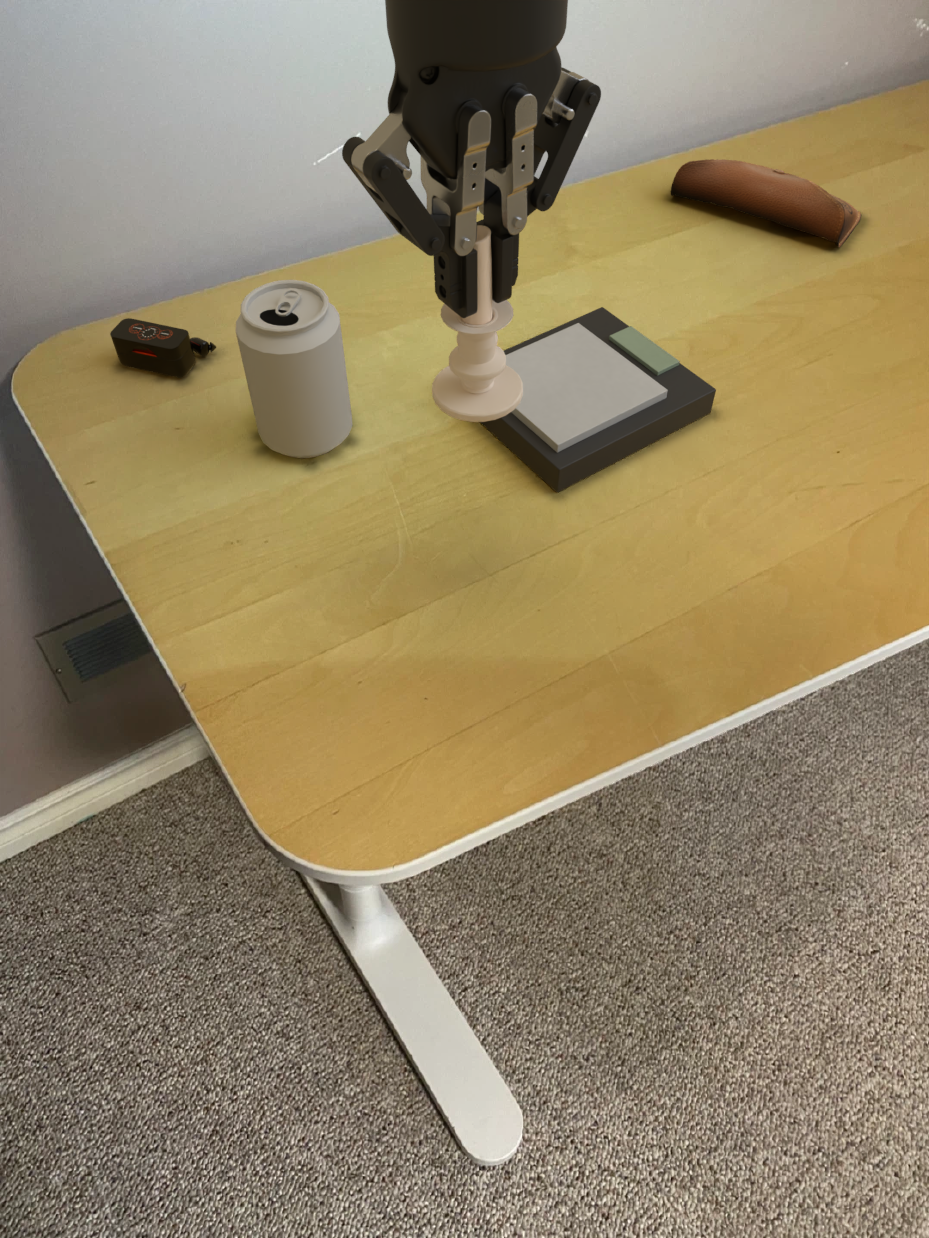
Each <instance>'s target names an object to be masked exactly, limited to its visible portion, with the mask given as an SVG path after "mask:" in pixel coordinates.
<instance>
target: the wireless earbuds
mask: <svg viewBox="0 0 929 1238" xmlns="http://www.w3.org/2000/svg"><path fill="white" fill-rule="evenodd" d="M109 335H110V338H111V341H112V344H113V347H114V350H115V352H116V355H117V358H118V361H119V363H120V364H121V365H122V366H124V367H127V368H132V369H136V370H140V371H145V372H149V373H154V374H159V375H164V376H167V377H173V378H177V379H183V378H185V376H186V375H187V374H188V373H189V372H190V370H191V369H192V368H193V367H194V366H195V364H196V361H197V359H196V355H195V354H197V355H199V356H200V357H202V358H205V357H207V356H208V355H209V353H213V352H214V351H215V350H216V349H217V345H215V344H214V342H212V341H210V342H208V341H207V340H205V339H202V338H200V337H195V336H194V337H191V335H190V334H189V331H188V330H187V329H185V328H184V329H183V328H179V327H174V326H169V325H165V324H160V323H157V322H150V321H146V320H141V319H136V318H132V317H131V318H130V317H128V318H127V317H126V318H123V319H122V320H120V321H119V322H118V323H117V325H116V326H115V327H114V328H112V330H111V331H110V332H109Z"/></svg>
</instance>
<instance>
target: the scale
mask: <svg viewBox="0 0 929 1238" xmlns="http://www.w3.org/2000/svg"><path fill="white" fill-rule="evenodd" d="M503 351H504V353H505V355H506V365H507V366H509V367H510V368H512V369H513V370H514V371H515V372H516V373H517V374H518V375H519V376H520V378H521V380H522V382H523V396H522V399H521V402H520V403H519V405H518V406H517V407H516V408H515V409H514V410H513V411H512V412H510V413H509V414H507V415H506V416H503V417H501V418H498V419H496V420H491V421H486V422H479V423H480V424H481V425H482V426H483V427H484V428H485V429H487V430H488V431H489V432H490V434H492V435H493V436H494V437H495V438H497V440H499V442H500V443H502V444H503V445H504V446H505V447H507V449H508V450H510V451H511V452H512V453H513V454H514V455H515V456H516V457H517V458H518V459H519V460H520V461H521V462H523V463H524V464H525V465H526V466H527V468H529V469H530V470H532V471H533V473H535V474H536V475H537V476H538V477H539V478H540V479H541V480H542V481H544V483H546V484H547V485H548V486H549V487H550V488H551V489H552V490H553V491H554V492H555V493H559V492H561V491H563V490H566V489H567V488H570V487H571V486H573V485H575V484H577V483H578V482H581V481H582V480H584V479H586V478H589V477H590V476H592V475H594V474H596V473H598V472H600V471H602V470H604V469H606V468H607V467H609V466H611V465H613V464H616V463H617V462H619V461H621V460H623V459H624V458H626V457H628V456H631V455H632V454H634V453H636V452H638V451H640V450H643V449H644V448H645V447H648V446H649V445H651V444H653V443H655V442H657V441H659V440H661V439H663V438H665V437H667V436H669V435H670V434H673V433H674V432H677V431H678V430H681V429H683V428H684V427H686V426H688V425H689V424H692V423H693V422H696V421H697V420H700V419H701V418H703V417H705V416H707V415H709V414H711V412H712V409H713V404H714V400H715V397H716V392H717V388H715V387H713V386H712V385H711V384H710V383H708V382H707V381H706V380H704V379H703V378H701V377H700V376H698V375H697V374H696V373H694V372H693V371H692V370H690V369H689V368H687V366H685V365H683V364H682V363H681V360H679V359H678V358H676V357H675V356H673V355H672V354H671V353H669V352H668V351H667V350H665V349H664V348H663V347H661V346H660V345H658V344H657V343H656V342H654V341H653V340H651V339H650V338H649V337H648V336H646V335H644V334H643V333H642V332H640V331H639V330H638V329H636V328H635V327H633V326H631V325H628V324H627V323H626V322H624V321H623V320H621V319H620V318H619V317H617V316H616V315H615V314H613V313H611V312H610V311H609V310H607V308H605V307H603V306H601V307H598V308H596V309H594V310H592V311H589V312H587V313H585V314H583V315H581V316H578V317H575V318H574V319H571V320H569V321H567V322H565V323H563V324H560V325H558V326H555V327H554V328H551V329H549V330H547V331H544V332H542V333H540V334H537V335H536V336H533V337H531V338H529V339H526V340H524V341H522V342H520V343H518V344H515V345H513V346H510V347H508V348H506V349H503Z"/></svg>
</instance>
